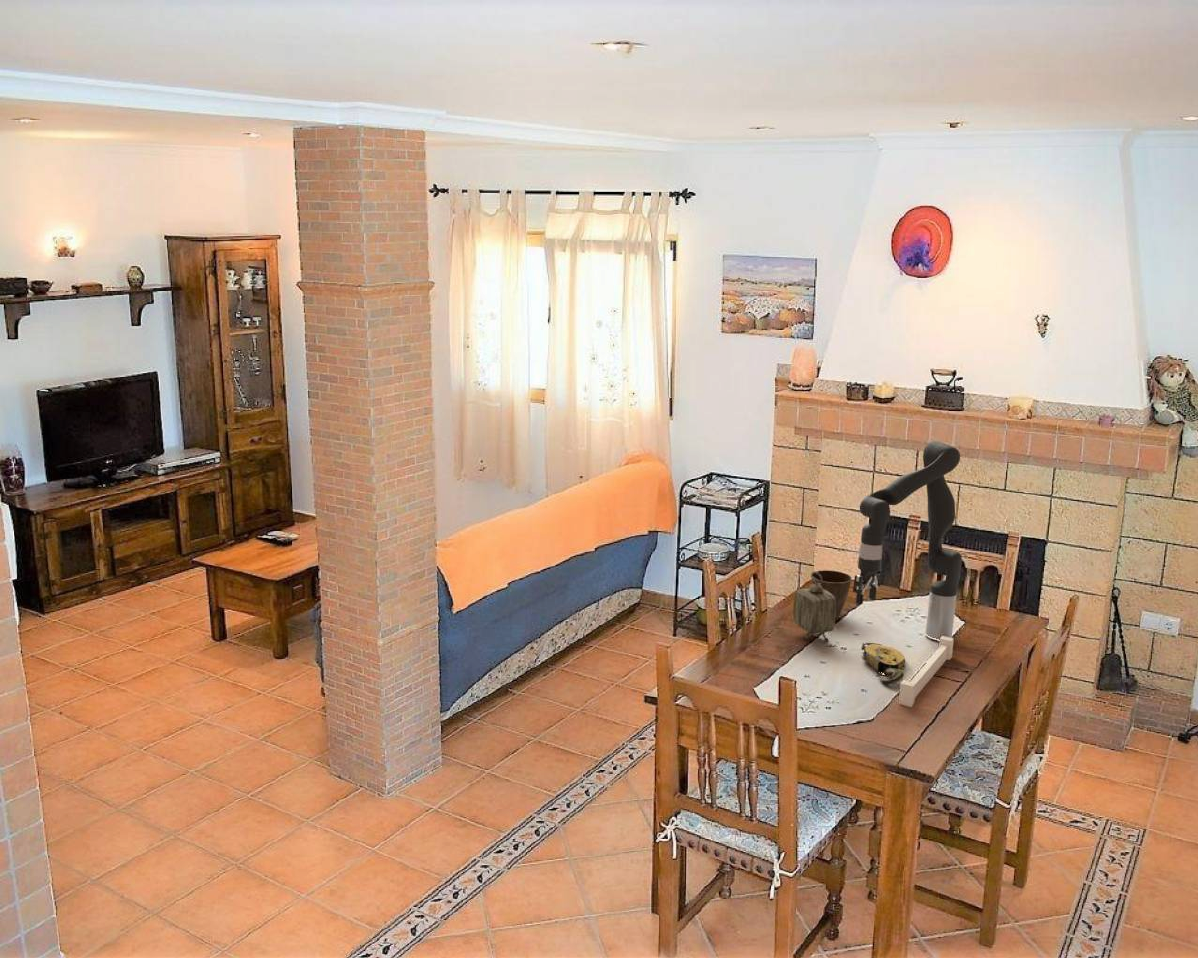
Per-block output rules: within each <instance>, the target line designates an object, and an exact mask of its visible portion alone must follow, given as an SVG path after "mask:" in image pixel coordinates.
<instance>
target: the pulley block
mask: <svg viewBox="0 0 1198 958" xmlns="http://www.w3.org/2000/svg"><path fill="white" fill-rule="evenodd" d="M860 649H861V650H862V651H863V652H862V657H863V660H864V661H865V662H867V663H868V665H870V666H871V667H872V668H873V669H874V670H875V671H876V672H877V673H879V672H880V673H881V672H882V673H884V674H885V675H888V676H884V675H880V676H879V677H878V679H879V680H880V682H881V684H883V683H884V685H887V686H888V685H889V686H890V685H892V686H894V685H895V684H896V683H898V682H900V681H901V680H902V679H903V678H904V672H903V670H902V669H903V668H905V666H906V658H905V655H904V654H903V653H902V652H901V651H899V650H898V649H896V648H894V647H893V646H888V645H887V646H886V645H883V644H880V643H875V642H866V643H864V642H862V645H861V648H860ZM880 673H879V674H880Z"/></svg>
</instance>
